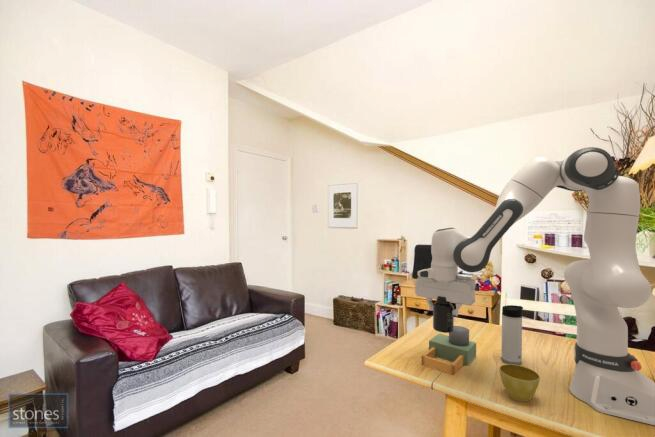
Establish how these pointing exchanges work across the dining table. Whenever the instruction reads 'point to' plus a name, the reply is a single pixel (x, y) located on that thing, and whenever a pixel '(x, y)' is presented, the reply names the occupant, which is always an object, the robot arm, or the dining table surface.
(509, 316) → the travel mug
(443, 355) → the green block with knob
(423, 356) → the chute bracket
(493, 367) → the dining table surface
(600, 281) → the robot arm
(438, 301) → the supplement bottle
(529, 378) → the flower pot
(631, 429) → the dining table surface
